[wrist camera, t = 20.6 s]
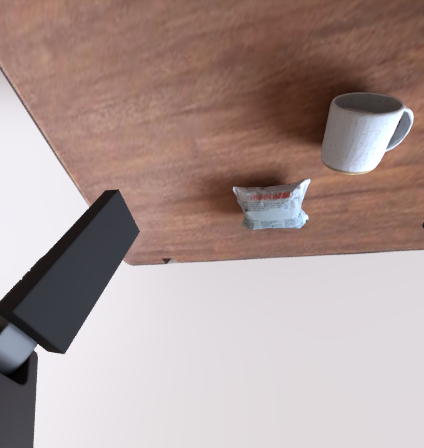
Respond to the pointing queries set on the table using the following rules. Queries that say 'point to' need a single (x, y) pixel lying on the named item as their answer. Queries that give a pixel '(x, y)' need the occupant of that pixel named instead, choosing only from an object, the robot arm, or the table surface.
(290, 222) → the packaged food
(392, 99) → the ceramic mug
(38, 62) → the table surface
